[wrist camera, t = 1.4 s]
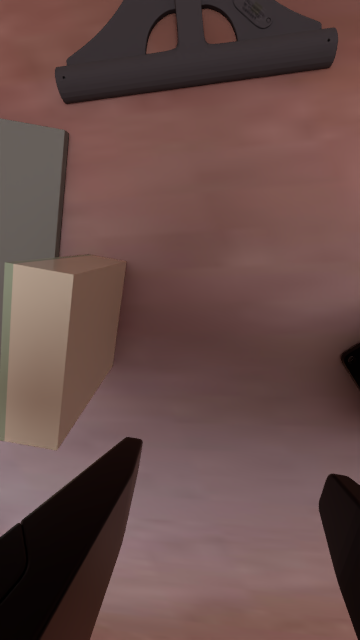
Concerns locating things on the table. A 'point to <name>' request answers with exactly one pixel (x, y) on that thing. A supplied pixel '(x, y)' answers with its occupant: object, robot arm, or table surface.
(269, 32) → the bracket
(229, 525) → the table surface
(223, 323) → the table surface
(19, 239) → the mat
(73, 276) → the tile
